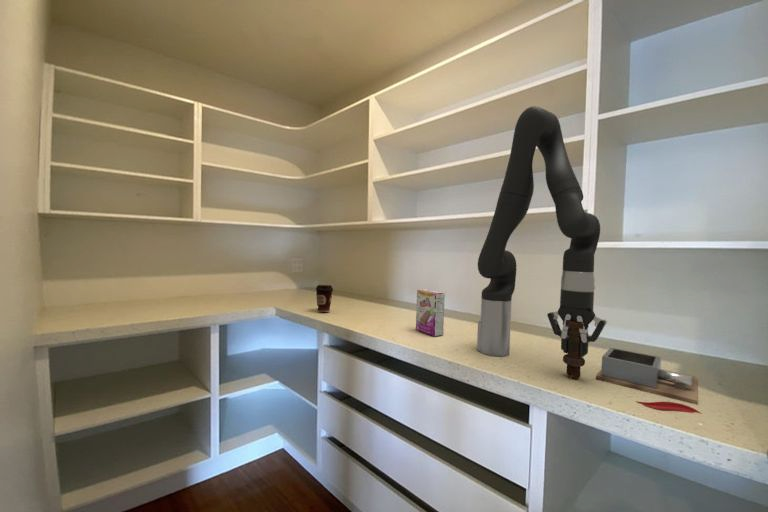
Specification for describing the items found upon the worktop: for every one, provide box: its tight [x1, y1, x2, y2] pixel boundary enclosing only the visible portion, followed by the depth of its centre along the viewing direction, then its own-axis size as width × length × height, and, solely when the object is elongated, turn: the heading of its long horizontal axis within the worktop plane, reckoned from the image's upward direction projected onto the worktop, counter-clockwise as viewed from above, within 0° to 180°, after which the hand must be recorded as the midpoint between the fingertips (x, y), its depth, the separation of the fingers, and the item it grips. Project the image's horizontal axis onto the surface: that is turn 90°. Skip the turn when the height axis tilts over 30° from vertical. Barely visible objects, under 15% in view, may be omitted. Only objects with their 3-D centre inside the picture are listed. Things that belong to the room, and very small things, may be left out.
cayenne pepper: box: [635, 401, 703, 415], centre depth 69 cm, size 12×5×2 cm, turn 55°
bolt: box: [562, 320, 589, 380], centre depth 85 cm, size 6×5×15 cm
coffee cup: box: [315, 284, 334, 313], centre depth 164 cm, size 9×8×13 cm
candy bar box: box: [415, 288, 446, 337], centre depth 127 cm, size 11×5×16 cm, turn 34°
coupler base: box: [595, 368, 698, 406], centre depth 85 cm, size 19×20×1 cm
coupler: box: [601, 347, 693, 391], centre depth 85 cm, size 17×18×5 cm
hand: (574, 353), depth 85 cm, fingers closed on bolt, 3 cm apart
